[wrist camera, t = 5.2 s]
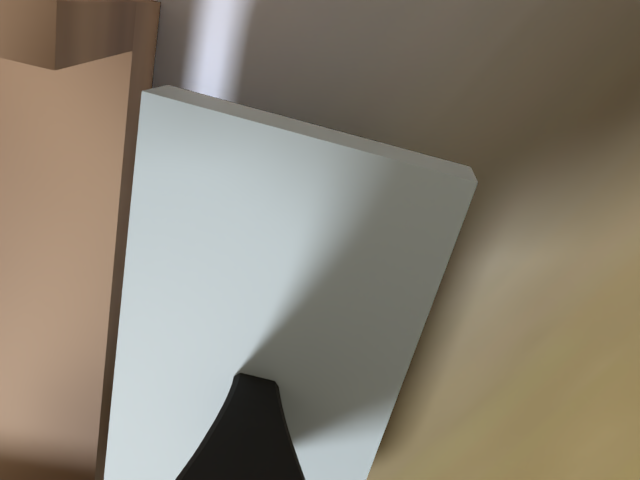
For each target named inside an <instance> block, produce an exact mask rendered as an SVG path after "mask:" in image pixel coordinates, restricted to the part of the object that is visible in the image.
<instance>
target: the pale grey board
mask: <svg viewBox="0 0 640 480" xmlns="http://www.w3.org/2000/svg"><path fill="white" fill-rule="evenodd" d="M477 184H478V181H477V179H476V177H475V175H474V173H473V171H472V169H471V167H470V166H466V165H462V164H459V163H455V162H451V161H448V160H444V159H440V158H436V157H433V156H429V155H425V154H422V153H418V152H414V151H411V150H407V149H403V148H400V147H396V146H392V145H388V144H385V143H381V142H377V141H374V140H370V139H366V138H363V137H359V136H355V135H352V134H348V133H344V132H341V131H337V130H333V129H329V128H326V127H322V126H318V125H315V124H311V123H307V122H304V121H300V120H296V119H293V118H289V117H285V116H281V115H278V114H274V113H270V112H267V111H263V110H259V109H256V108H252V107H248V106H245V105H241V104H237V103H233V102H230V101H226V100H222V99H219V98H215V97H211V96H208V95H204V94H200V93H197V92H193V91H189V90H185V89H182V88H178V87H174V86H171V85H164V86H160V87H156V88H152V89H148V90H143V91H142V93H141V104H140V114H139V124H138V134H137V145H136V155H135V165H134V175H133V185H132V196H131V206H130V216H129V226H128V237H127V247H126V257H125V267H124V277H123V288H122V298H121V308H120V318H119V329H118V339H117V349H116V359H115V369H114V380H113V390H112V400H111V410H110V421H109V431H108V441H107V451H106V461H105V472H104V480H175V479H176V478H177V476H178V475H179V474H180V472H181V471H182V469H183V468H184V467H185V465H186V464H187V462H188V461H189V460H190V458H191V457H192V455H193V454H194V453H195V451H196V450H197V448H198V447H199V445H200V443H201V442H202V440H203V438H204V437H205V435H206V434H207V432H208V430H209V429H210V427H211V425H212V424H213V422H214V420H215V419H216V417H217V415H218V413H219V411H220V409H221V407H222V406H223V404H224V402H225V399H226V397H227V395H228V393H229V390H230V388H231V385H232V381H233V377H234V376H235V375H237V374H239V373H244V374H248V375H252V376H256V377H261V378H265V379H269V380H273V381H275V382H276V383H277V385H278V386H279V391H280V397H281V402H282V407H283V411H284V415H285V419H286V422H287V426H288V429H289V433H290V436H291V439H292V443H293V446H294V449H295V451H296V454H297V457H298V460H299V463H300V466H301V469H302V472H303V474H304V477H305V479H306V480H366V479H367V476H368V474H369V471H370V468H371V466H372V463H373V460H374V458H375V455H376V452H377V450H378V447H379V444H380V442H381V439H382V436H383V434H384V431H385V429H386V426H387V423H388V421H389V418H390V415H391V413H392V410H393V407H394V405H395V402H396V399H397V397H398V394H399V391H400V389H401V386H402V383H403V381H404V378H405V375H406V373H407V370H408V367H409V365H410V362H411V359H412V357H413V354H414V351H415V349H416V346H417V344H418V341H419V338H420V336H421V333H422V330H423V328H424V325H425V322H426V320H427V317H428V314H429V312H430V309H431V306H432V304H433V301H434V298H435V296H436V293H437V290H438V288H439V285H440V282H441V280H442V277H443V274H444V272H445V269H446V267H447V264H448V261H449V259H450V256H451V253H452V251H453V248H454V245H455V243H456V240H457V237H458V235H459V232H460V229H461V227H462V224H463V221H464V219H465V216H466V213H467V211H468V208H469V205H470V203H471V200H472V197H473V195H474V192H475V189H476V187H477Z"/></svg>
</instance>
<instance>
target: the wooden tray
mask: <svg viewBox="0 0 640 480" xmlns="http://www.w3.org/2000/svg"><path fill="white" fill-rule="evenodd" d="M160 4H161V2H157V1H153V0H0V480H104V472H105V461H106V451H107V441H108V431H109V421H110V410H111V400H112V390H113V380H114V369H115V359H116V349H117V339H118V329H119V318H120V308H121V298H122V288H123V277H124V267H125V257H126V247H127V237H128V226H129V216H130V206H131V196H132V185H133V175H134V165H135V155H136V145H137V134H138V124H139V114H140V104H141V93H142V91H143V90H148V89H152V80H153V71H154V61H155V52H156V42H157V33H158V23H159V14H160Z"/></svg>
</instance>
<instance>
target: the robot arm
mask: <svg viewBox="0 0 640 480" xmlns="http://www.w3.org/2000/svg"><path fill="white" fill-rule="evenodd" d="M175 480H306V479H305V477H304V474H303V472H302V469H301V466H300V463H299V460H298V457H297V454H296V451H295V449H294V446H293V443H292V439H291V436H290V433H289V429H288V426H287V422H286V419H285V415H284V411H283V407H282V402H281V397H280V391H279V386H278V385H277V383H276V382H275V381H273V380H269V379H265V378H261V377H256V376H252V375H248V374H244V373H239V374H237V375H235V376H234V377H233V381H232V385H231V388H230V390H229V393H228V395H227V397H226V399H225V402H224V404H223V406H222V407H221V409H220V411H219V413H218V415H217V417H216V419H215V420H214V422H213V424H212V425H211V427H210V429H209V430H208V432H207V434H206V435H205V437H204V438H203V440H202V442H201V443H200V445H199V447H198V448H197V450H196V451H195V453H194V454H193V455H192V457H191V458H190V460H189V461H188V462H187V464H186V465H185V467H184V468H183V469H182V471H181V472H180V474H179V475H178V476H177V478H176V479H175Z"/></svg>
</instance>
